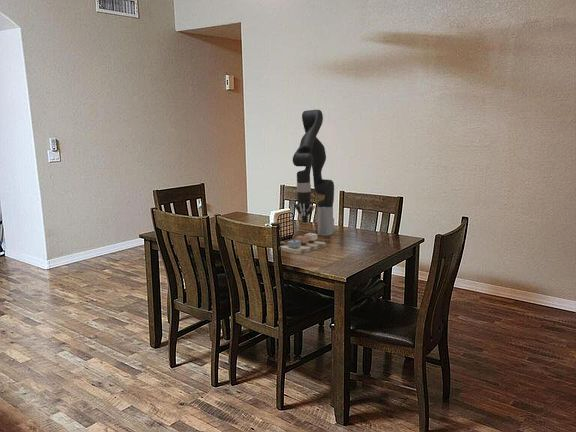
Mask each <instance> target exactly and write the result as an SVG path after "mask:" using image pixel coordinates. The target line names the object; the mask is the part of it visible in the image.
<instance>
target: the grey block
mask: <svg viewBox="0 0 576 432" xmlns="http://www.w3.org/2000/svg"><path fill="white" fill-rule="evenodd" d="M287 245H288V247H292V248H297V247H300V246H301V241H298V240H296V239H292V240H288V241H287Z"/></svg>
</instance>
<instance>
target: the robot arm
mask: <svg viewBox="0 0 576 432" xmlns="http://www.w3.org/2000/svg"><path fill="white" fill-rule="evenodd" d="M301 120H302V125H303V129H304V132H305V133H304V134H303V136H302V137H301V139H300V143H299V147H298V148H297V149H296V150H295V152H294V154H293V155H292V164H293V165H294V166H295V167H304V169H303V170H298V171H297V173H296V199H297V202H296V204H294V207H295V209H296V212H297V213H298V214H299V215H300V216H301V221H302V223H307V222H308V221H309V220H308V219H309V215H311V214H312V213H313V212H314V209H315V207H316V206H315V205H312V201H311V200H312V185H311V170H312V177H313V187H314V192H315V194H317V195H318V196H319V195H321V196H324V198H323V199H321V200H318V201H317V236H322V237H323V236H333V235H334V234H335V218H334V201H335V183H334V181H333V180H332V179H325V178H324V179H323V176H322V171H323V168H324V166H325V164H326V160H327V154H326V153H327V152H326V148H325V146H324V144H323V143H322V141H320V140H319V138H318V137H317V136H318V133H319V131H320V129H321V127H322V125H323V122H324V115H323V112H322V110H320V109H311V110H310V109H309V110H308V109H307V110H304V111H303V112H302V114H301Z"/></svg>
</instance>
